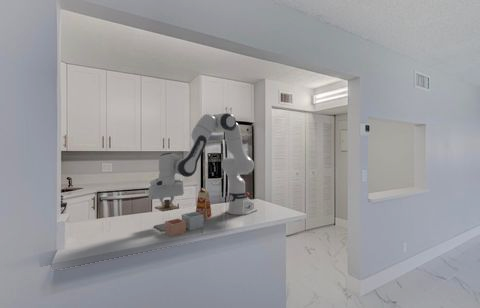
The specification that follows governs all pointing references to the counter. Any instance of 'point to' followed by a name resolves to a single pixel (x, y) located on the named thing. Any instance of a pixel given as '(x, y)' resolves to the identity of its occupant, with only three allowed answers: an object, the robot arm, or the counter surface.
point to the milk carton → (204, 204)
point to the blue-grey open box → (193, 220)
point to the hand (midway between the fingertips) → (166, 204)
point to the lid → (166, 206)
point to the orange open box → (175, 227)
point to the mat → (160, 227)
